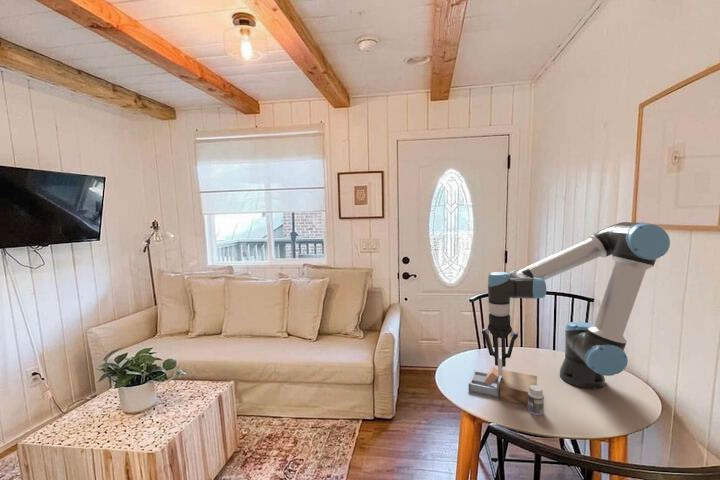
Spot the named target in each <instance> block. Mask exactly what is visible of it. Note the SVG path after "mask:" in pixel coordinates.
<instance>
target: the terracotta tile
mask: <svg viewBox="0 0 720 480" xmlns="http://www.w3.org/2000/svg"><path fill="white" fill-rule="evenodd" d="M487 373H488V374H487V375H486V377H485V381H484V382H486V383H487V384H488V385H489V386H491V385H492V383H493V382H494V381H495V380H496V379H497V378H498V368H496V367H492V368H491V369H490V370H489V371H488V372H487Z"/></svg>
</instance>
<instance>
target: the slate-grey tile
mask: <svg viewBox="0 0 720 480" xmlns="http://www.w3.org/2000/svg"><path fill="white" fill-rule="evenodd" d="M485 377H486V376H480V375H475V374H474V377H473V379H472V383H473V384H478V385H483V386H487V383H486V382H484V381H485Z"/></svg>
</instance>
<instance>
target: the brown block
mask: <svg viewBox="0 0 720 480" xmlns="http://www.w3.org/2000/svg"><path fill="white" fill-rule="evenodd" d="M531 385H536V386H538V376H537V375H534V374H527V373H523V372H517V371H511V370H507V369H506V370H505V369H503V374H502V376H501V382H500V392H499V400H501V401H504V402H505V401H506V402H510V403H514V404H519V405H523V406H528V392H529V387H530V386H531Z"/></svg>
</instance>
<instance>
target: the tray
mask: <svg viewBox="0 0 720 480" xmlns="http://www.w3.org/2000/svg"><path fill="white" fill-rule="evenodd" d="M488 373H489V372H486V371H485V372H484V371H481V370H472V373H471V377H470V379H469V381H468V392H471V393H475V394H480V395H484V396H490V397H493V398H500V382H501V377H502V376H500V375H498V378H497V379H496V380H495V381H494V382H493V383H492V385H491V386H489V385H488V384H487V386H483V385H478V384H473V383H472V379H473V377H474V374H475V375H480V376H486V375H487V374H488Z"/></svg>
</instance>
